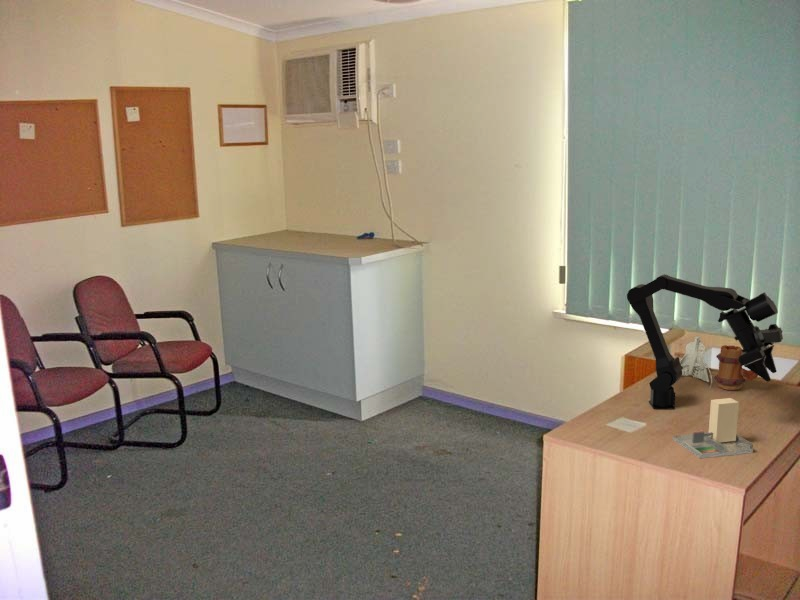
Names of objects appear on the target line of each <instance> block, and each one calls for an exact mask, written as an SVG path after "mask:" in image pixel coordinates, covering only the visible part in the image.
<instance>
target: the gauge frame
mask: <svg viewBox="0 0 800 600" xmlns="http://www.w3.org/2000/svg"><path fill="white" fill-rule="evenodd" d="M696 431H702V430H701V429H697V430H696ZM692 438H693V433H690V434H681V435H673V436H672V440H673V441H675V442H676V443H677V444H678V445H680V446H682V447H683V448H685V450H687V451H689V452H690V453H692V454H693V455H694V456H695V457H697V458H699V459H705V458H707V459H708V458H715V457H716V458H717V457H725V456H734V455H735V456H736V455H744V454H752V453H754V448H753V447H754V443H753V442H751V441H749V440H747V439H745V438H744V437H742V436H740V435H739V434H737V433H736V441H728V442H718V441H717V440H715V439H713V438H712V437H710V436H704V442H702V443H692Z"/></svg>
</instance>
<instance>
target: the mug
mask: <svg viewBox="0 0 800 600" xmlns="http://www.w3.org/2000/svg"><path fill="white" fill-rule="evenodd" d="M742 349H743V348H742V347H740V346H735V345H728V344H727V345H726V344H724V345H721V347H720V353H718V354H716V359H717V360H718V374H717V375H715V376H714V379H715V380H716V383H717V387H719V388H721V389H723V390H725V391H737V390H739V389H742V388H743V385H744V384H743V383H744V382H746V379H747V380H748V381H753V380H756V379H757V377H760V376H759V375H757V374H756V373H754V372H753V371H751V370H750V369H745V368H743V366H742V365H741V363H740V362H739V357H740V355H741V354H742V353H743V352H742ZM745 378H746V379H745Z"/></svg>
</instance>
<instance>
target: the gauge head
mask: <svg viewBox="0 0 800 600" xmlns="http://www.w3.org/2000/svg"><path fill="white" fill-rule="evenodd" d="M739 404H740V403H739V401H738V400H735V399H733V398H732V397H731V398H730V397H727V398H717V399H715V398H714V399H711V400H710V409H709V422H708V424H709V425H708V432H704V436H710V437H712V438H713V439H715V440H717V441H718V442H728V441H736V434H737V430H738V420H739V418H738V417H739Z"/></svg>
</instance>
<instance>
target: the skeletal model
mask: <svg viewBox="0 0 800 600" xmlns="http://www.w3.org/2000/svg"><path fill="white" fill-rule="evenodd" d="M701 350H702V351H701ZM705 350H706V346H705V345H704V343H702V342H701V339H700V336H694V341H690V342H689V343H687V344H686V345H685V354H684V355H683V356H682V358H681V359H680V358H679V360H680V364H681V366H682V367H683V369H682V376H683V377H687V376H692V377H693V378H696V379H700V380H702V381H704V382H705V381H706V382H707V383H709V382H710V386H709V390H710V389H711V388H712V384H713V376H712V372H711V369H710V368H709V365H708V364H706V362H705V361H704V357H703V354H704V353H705ZM706 367H707V368H706ZM708 371H709V374H708ZM708 375H709V376H708ZM682 376H681V377H682ZM709 377H710V379H709Z"/></svg>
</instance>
